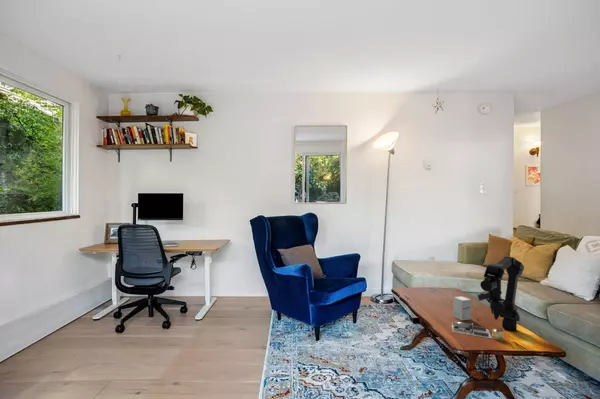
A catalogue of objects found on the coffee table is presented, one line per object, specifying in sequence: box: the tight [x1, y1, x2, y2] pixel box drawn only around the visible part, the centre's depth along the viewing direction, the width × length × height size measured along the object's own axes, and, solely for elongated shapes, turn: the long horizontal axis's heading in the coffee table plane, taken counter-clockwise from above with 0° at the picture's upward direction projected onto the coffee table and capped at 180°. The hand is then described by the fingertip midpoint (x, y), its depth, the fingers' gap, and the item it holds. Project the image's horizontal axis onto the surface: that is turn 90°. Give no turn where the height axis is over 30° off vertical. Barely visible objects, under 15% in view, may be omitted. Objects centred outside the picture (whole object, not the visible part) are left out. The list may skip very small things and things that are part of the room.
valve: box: [491, 327, 505, 342], centre depth 164 cm, size 5×5×6 cm
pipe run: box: [451, 320, 493, 339], centre depth 173 cm, size 19×12×4 cm, turn 67°
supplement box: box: [452, 296, 472, 321], centre depth 193 cm, size 7×7×13 cm
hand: (494, 316), depth 166 cm, fingers open, 9 cm apart
